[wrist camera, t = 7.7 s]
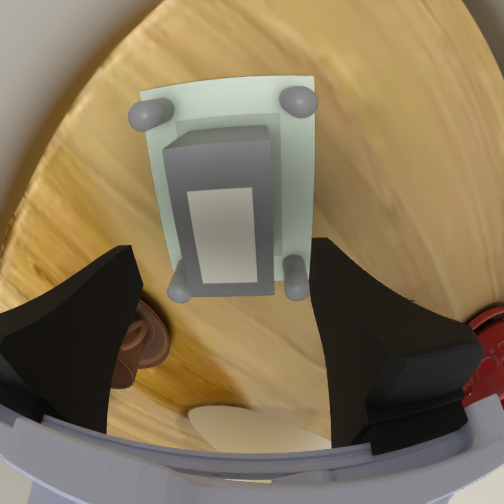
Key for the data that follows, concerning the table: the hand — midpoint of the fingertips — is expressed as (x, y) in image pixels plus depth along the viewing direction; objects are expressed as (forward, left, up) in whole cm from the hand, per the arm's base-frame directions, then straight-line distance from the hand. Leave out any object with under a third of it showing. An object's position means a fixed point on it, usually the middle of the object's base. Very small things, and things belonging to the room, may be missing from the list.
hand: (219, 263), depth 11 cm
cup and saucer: (-12, +13, -9) cm, 20 cm away
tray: (0, 0, -9) cm, 9 cm away
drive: (0, 0, -8) cm, 7 cm away
